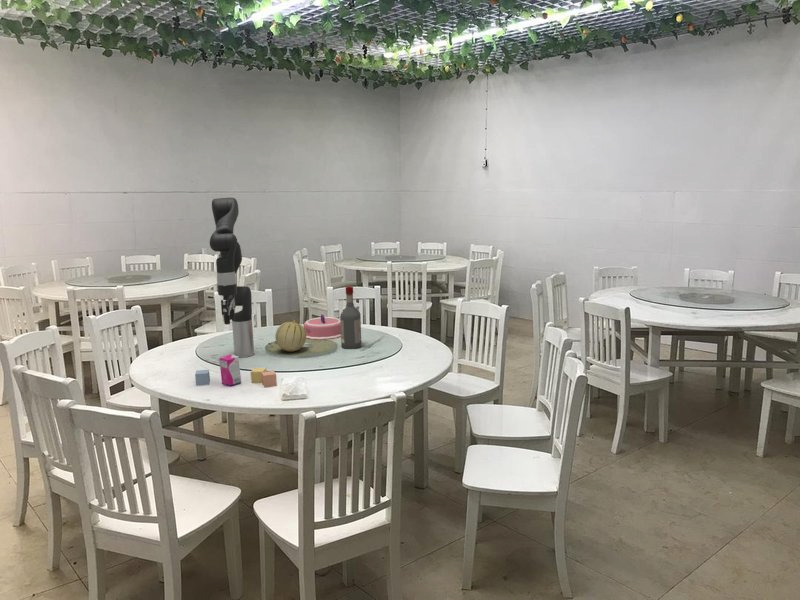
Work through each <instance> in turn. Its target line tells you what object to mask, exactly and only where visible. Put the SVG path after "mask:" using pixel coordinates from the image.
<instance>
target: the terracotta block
mask: <svg viewBox="0 0 800 600" xmlns="http://www.w3.org/2000/svg"><path fill="white" fill-rule="evenodd" d="M261 374H262V383H261V384H262V386H263V387H264V388H270V387H277V385H278V383H277V373H276V372H275V370H268V371H267V370H266V372H261Z"/></svg>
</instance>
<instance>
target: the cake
mask: <svg viewBox="0 0 800 600" xmlns="http://www.w3.org/2000/svg"><path fill="white" fill-rule="evenodd" d="M303 328H304V329H305V331H306V340H313V341H327V340H334V339H339V338H341V324H340V318H338V317H334V316H330V317H329V316H325V315H324V314H320V316H319V317H313V318H310V319H308V320H306V321H304V322H303Z"/></svg>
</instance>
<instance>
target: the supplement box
mask: <svg viewBox="0 0 800 600" xmlns="http://www.w3.org/2000/svg"><path fill="white" fill-rule="evenodd" d="M218 359H219V368H220V379H221V380H220V381H221V385H224V386H227V387H229V388H230V387H234V386H237V385H240V384H242V377H241V376H242V375H241V367H240V357H238V356H235V354H228V355H225V356H220V357H218Z"/></svg>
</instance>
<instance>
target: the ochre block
mask: <svg viewBox="0 0 800 600" xmlns="http://www.w3.org/2000/svg"><path fill="white" fill-rule="evenodd" d="M261 372H267V367H253V368H252V370H250V381H251V382H250V383H251V384H262V374H261Z"/></svg>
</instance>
